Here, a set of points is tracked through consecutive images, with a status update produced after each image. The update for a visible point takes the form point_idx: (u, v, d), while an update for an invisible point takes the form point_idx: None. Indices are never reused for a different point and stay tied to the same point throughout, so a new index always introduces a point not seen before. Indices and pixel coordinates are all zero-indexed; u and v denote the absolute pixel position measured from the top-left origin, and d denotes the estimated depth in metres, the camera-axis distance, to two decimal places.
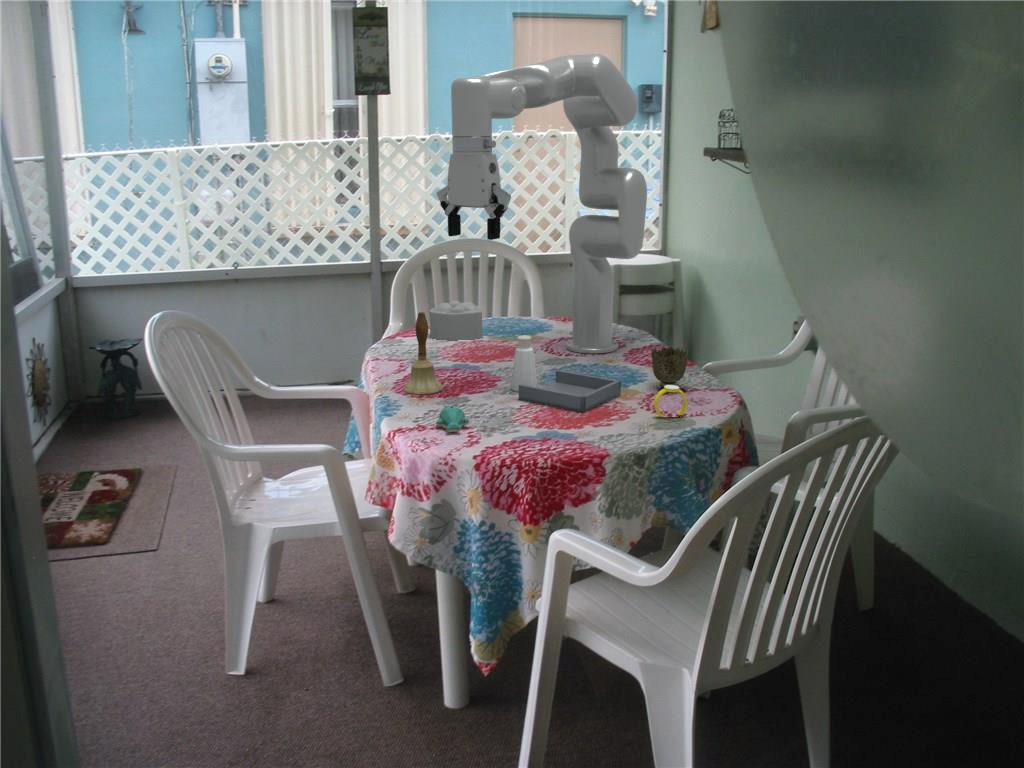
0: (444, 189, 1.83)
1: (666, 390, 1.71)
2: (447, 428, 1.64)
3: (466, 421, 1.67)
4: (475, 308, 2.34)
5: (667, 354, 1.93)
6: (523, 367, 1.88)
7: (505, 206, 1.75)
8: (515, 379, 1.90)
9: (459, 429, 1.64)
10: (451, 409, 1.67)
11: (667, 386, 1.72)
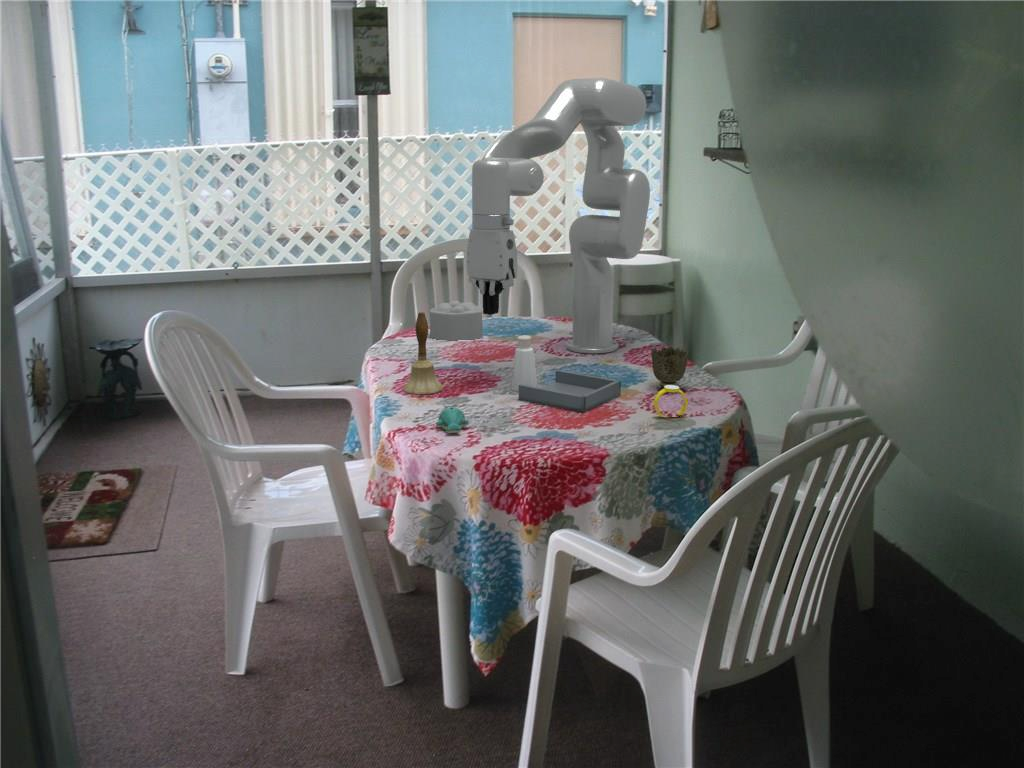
0: None
1: (666, 390, 1.71)
2: (447, 429, 1.63)
3: (466, 422, 1.67)
4: (475, 308, 2.34)
5: (667, 354, 1.93)
6: (523, 367, 1.88)
7: None
8: (515, 379, 1.90)
9: (459, 430, 1.63)
10: (451, 410, 1.67)
11: (667, 386, 1.72)
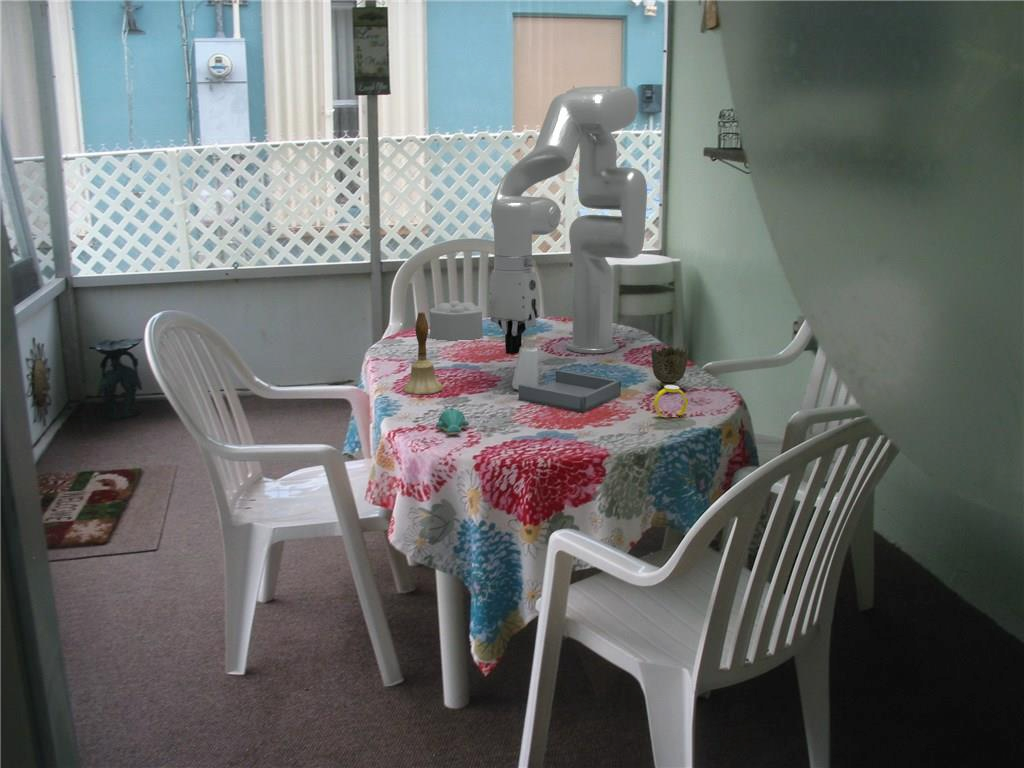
0: None
1: (666, 390, 1.71)
2: (447, 431, 1.63)
3: (466, 423, 1.66)
4: (475, 308, 2.34)
5: (667, 354, 1.93)
6: (526, 367, 1.88)
7: None
8: (516, 377, 1.89)
9: (459, 432, 1.63)
10: (451, 411, 1.66)
11: (667, 386, 1.72)
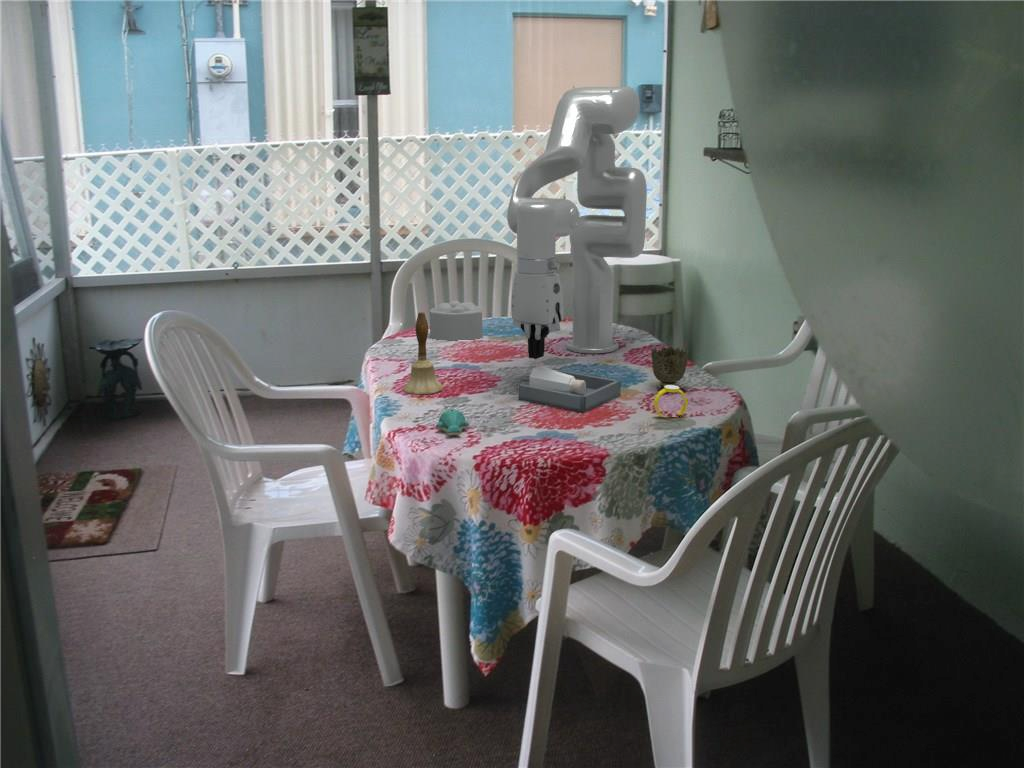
0: None
1: (666, 390, 1.71)
2: (447, 431, 1.62)
3: (466, 424, 1.65)
4: (475, 308, 2.34)
5: (667, 354, 1.93)
6: (552, 389, 1.86)
7: None
8: (540, 379, 1.86)
9: (459, 432, 1.62)
10: (451, 412, 1.66)
11: (667, 386, 1.72)
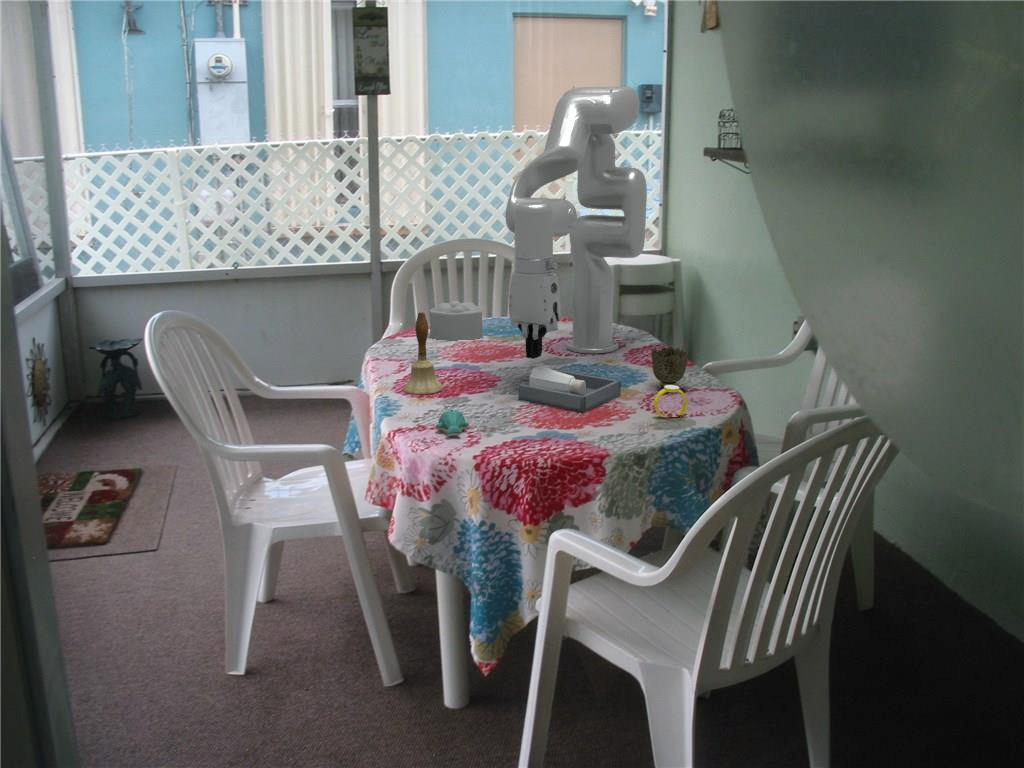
0: None
1: (666, 390, 1.71)
2: (447, 432, 1.62)
3: (466, 425, 1.65)
4: (475, 308, 2.34)
5: (667, 354, 1.93)
6: (552, 389, 1.86)
7: None
8: (540, 379, 1.86)
9: (459, 433, 1.62)
10: (451, 413, 1.65)
11: (667, 386, 1.72)
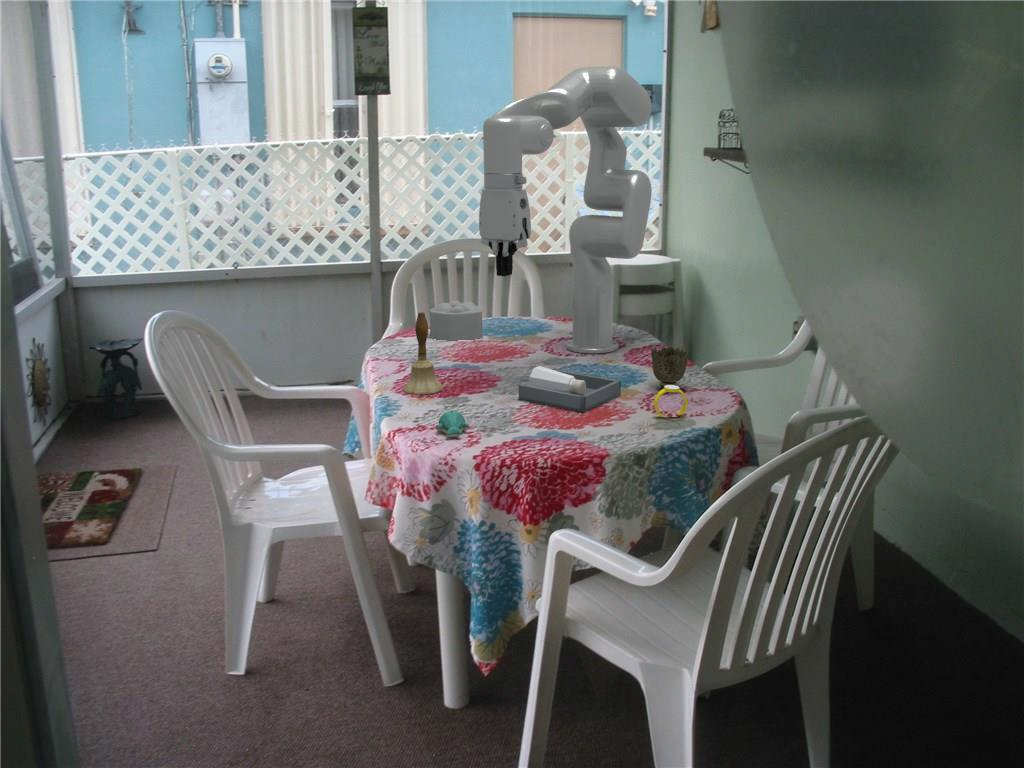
0: None
1: (666, 390, 1.71)
2: (447, 433, 1.61)
3: (466, 426, 1.65)
4: (475, 308, 2.34)
5: (667, 354, 1.93)
6: (552, 389, 1.86)
7: None
8: (540, 379, 1.86)
9: (459, 434, 1.62)
10: (451, 414, 1.65)
11: (667, 386, 1.72)
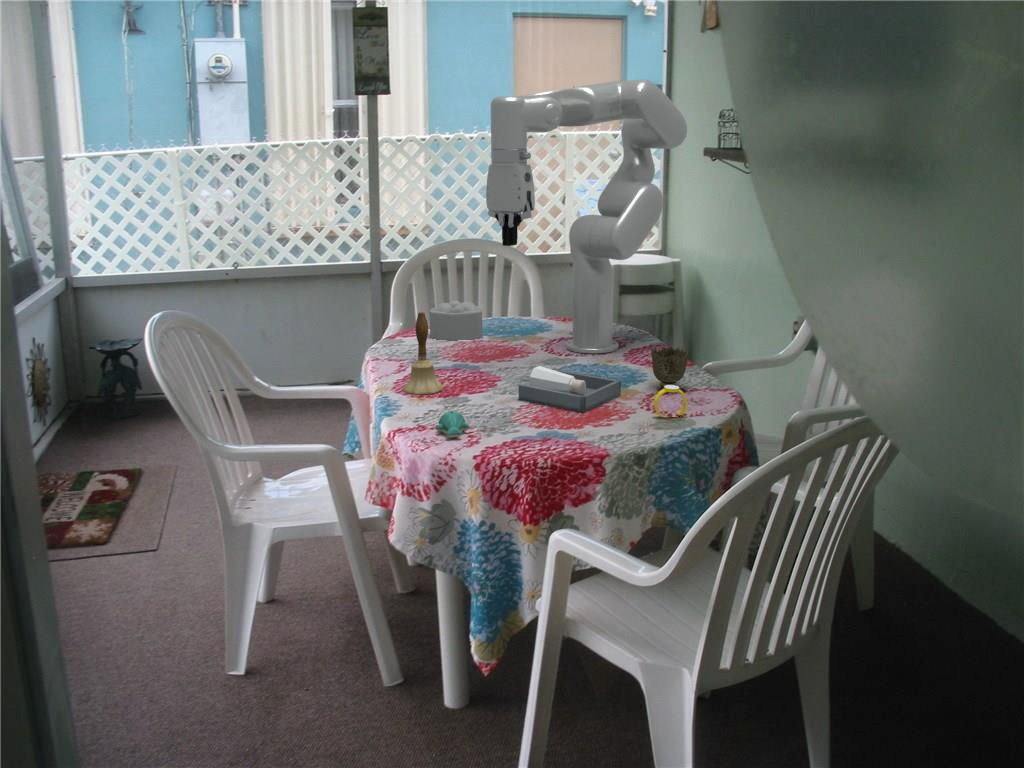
0: None
1: (666, 390, 1.71)
2: (447, 433, 1.61)
3: (466, 426, 1.64)
4: (475, 308, 2.34)
5: (667, 354, 1.93)
6: (552, 389, 1.86)
7: None
8: (540, 379, 1.86)
9: (459, 434, 1.61)
10: (451, 414, 1.64)
11: (667, 386, 1.72)
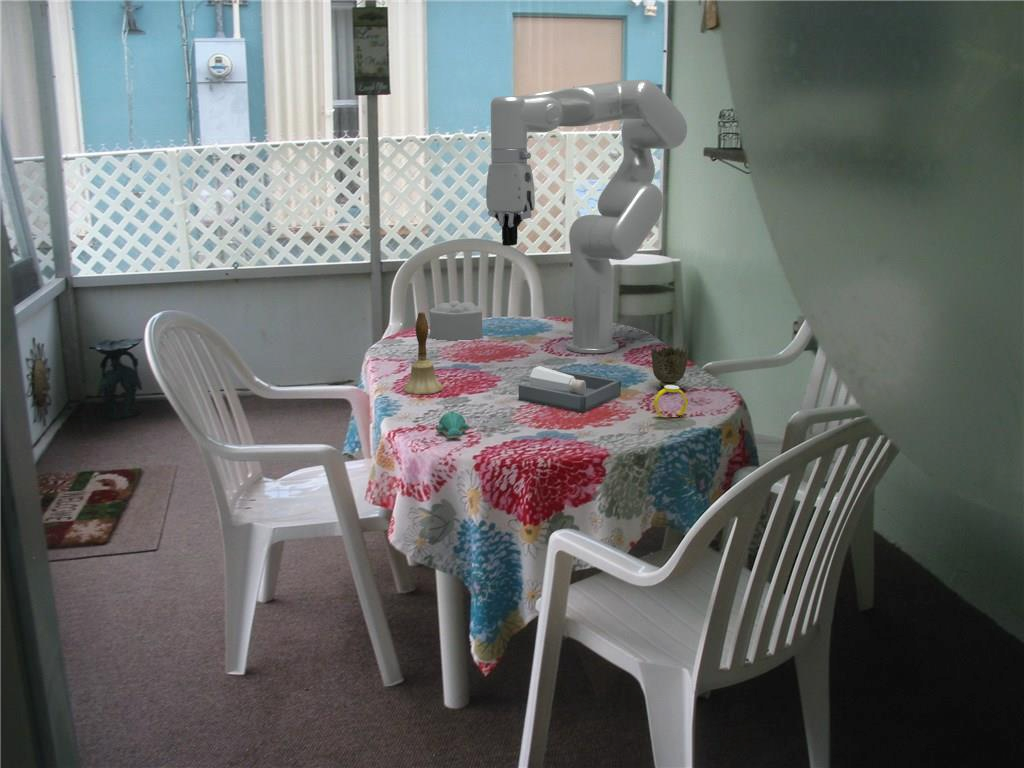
0: None
1: (666, 390, 1.71)
2: (447, 434, 1.61)
3: (467, 427, 1.64)
4: (475, 308, 2.34)
5: (667, 354, 1.93)
6: (552, 389, 1.86)
7: None
8: (540, 379, 1.86)
9: (460, 435, 1.61)
10: (451, 415, 1.64)
11: (667, 386, 1.72)
